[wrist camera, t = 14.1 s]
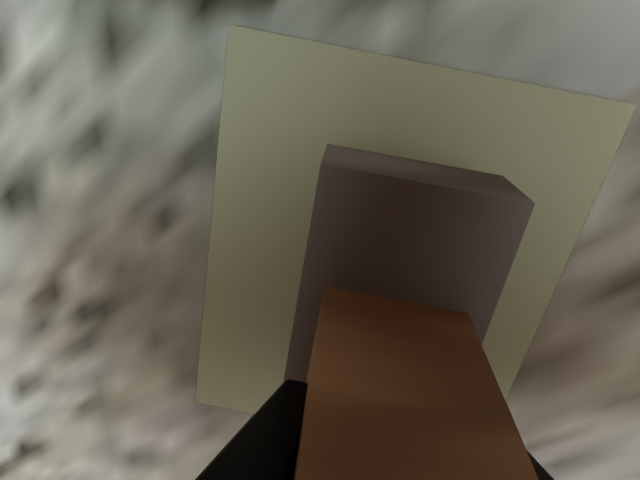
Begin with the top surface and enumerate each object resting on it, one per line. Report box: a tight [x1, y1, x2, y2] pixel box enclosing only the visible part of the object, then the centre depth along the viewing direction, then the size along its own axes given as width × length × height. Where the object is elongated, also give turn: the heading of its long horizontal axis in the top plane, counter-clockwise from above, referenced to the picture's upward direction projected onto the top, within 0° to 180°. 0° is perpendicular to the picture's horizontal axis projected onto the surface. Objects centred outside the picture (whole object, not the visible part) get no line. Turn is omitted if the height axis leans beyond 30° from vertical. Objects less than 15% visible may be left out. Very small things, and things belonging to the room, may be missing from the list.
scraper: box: [283, 144, 539, 480], centre depth 8 cm, size 4×8×8 cm, turn 170°
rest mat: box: [195, 25, 637, 414], centre depth 13 cm, size 10×12×1 cm
